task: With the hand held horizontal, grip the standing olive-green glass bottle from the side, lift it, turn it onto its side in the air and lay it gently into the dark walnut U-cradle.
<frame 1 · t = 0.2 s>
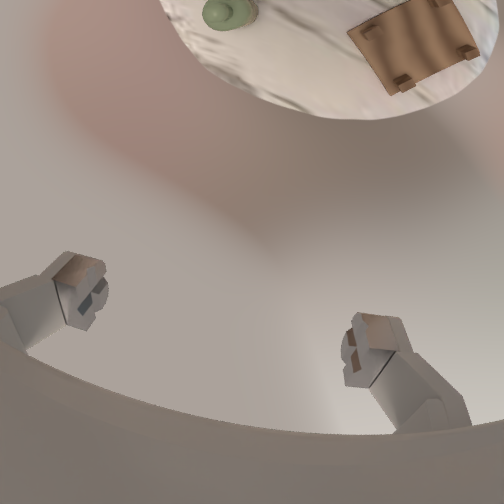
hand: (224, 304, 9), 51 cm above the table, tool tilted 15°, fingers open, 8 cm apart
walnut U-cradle: (417, 38, 36), on the table
olive glass bottle: (240, 11, 40), on the table
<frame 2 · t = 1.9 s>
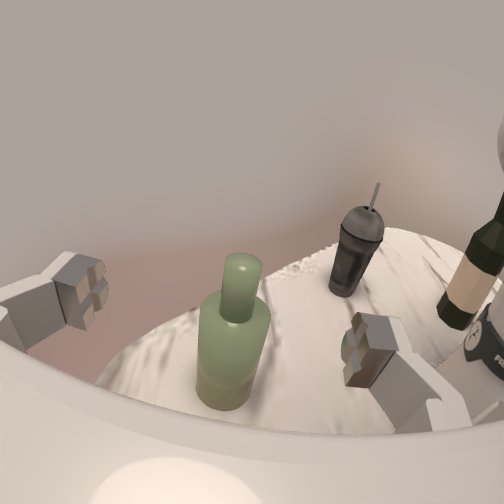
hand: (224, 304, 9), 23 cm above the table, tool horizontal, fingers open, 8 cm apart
wine bottle: (452, 317, 49), on the table
olive glass bottle: (223, 388, 31), on the table
beverage cup: (340, 290, 52), on the table
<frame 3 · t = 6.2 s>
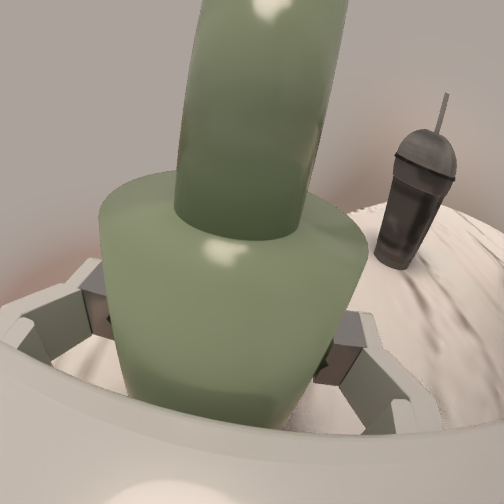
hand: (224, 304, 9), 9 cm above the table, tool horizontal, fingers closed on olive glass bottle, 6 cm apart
olive glass bottle: (204, 439, 13), on the table, touching gripper
beverage cup: (390, 260, 33), on the table
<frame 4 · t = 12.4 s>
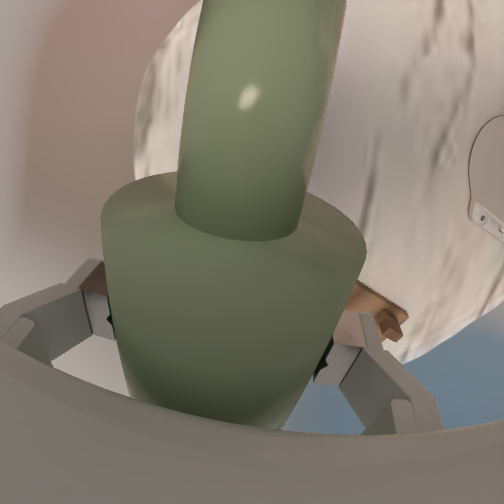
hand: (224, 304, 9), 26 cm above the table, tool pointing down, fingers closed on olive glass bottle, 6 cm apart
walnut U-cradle: (324, 313, 42), on the table
olive glass bottle: (204, 438, 13), point 27 cm above the table, tilted 90°, touching gripper
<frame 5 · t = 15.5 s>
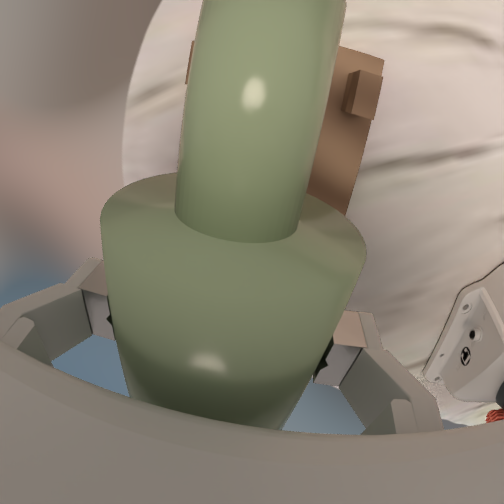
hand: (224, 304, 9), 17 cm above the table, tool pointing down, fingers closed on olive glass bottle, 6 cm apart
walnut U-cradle: (267, 167, 24), on the table
olive glass bottle: (204, 439, 13), point 18 cm above the table, tilted 90°, touching gripper
when the fingers open (5 cm above the table, at t = 18.2 s): olive glass bottle drops 1 cm, resting on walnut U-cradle.
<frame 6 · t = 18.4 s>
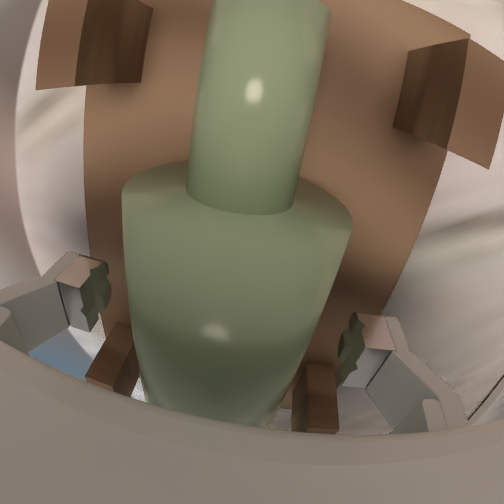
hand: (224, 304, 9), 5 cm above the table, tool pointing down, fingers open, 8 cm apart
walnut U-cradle: (242, 235, 13), on the table
olive glass bottle: (208, 419, 14), point 4 cm above the table, tilted 90°, touching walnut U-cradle
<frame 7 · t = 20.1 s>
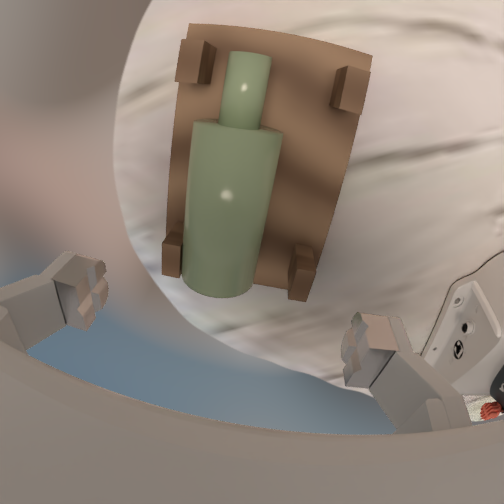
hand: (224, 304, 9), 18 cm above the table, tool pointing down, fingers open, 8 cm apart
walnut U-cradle: (257, 163, 24), on the table
olive glass bottle: (217, 274, 25), point 4 cm above the table, tilted 90°, touching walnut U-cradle
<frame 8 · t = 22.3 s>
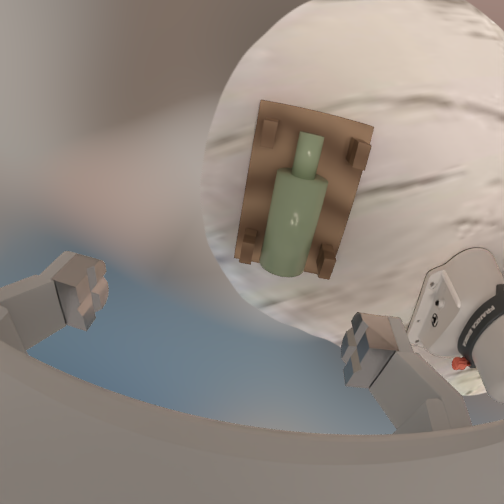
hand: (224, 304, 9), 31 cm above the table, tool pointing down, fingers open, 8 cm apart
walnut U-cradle: (299, 192, 39), on the table
olive glass bottle: (281, 263, 40), point 4 cm above the table, tilted 90°, touching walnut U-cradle
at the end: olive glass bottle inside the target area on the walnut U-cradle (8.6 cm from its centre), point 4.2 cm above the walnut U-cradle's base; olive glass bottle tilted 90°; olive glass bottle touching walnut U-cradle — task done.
